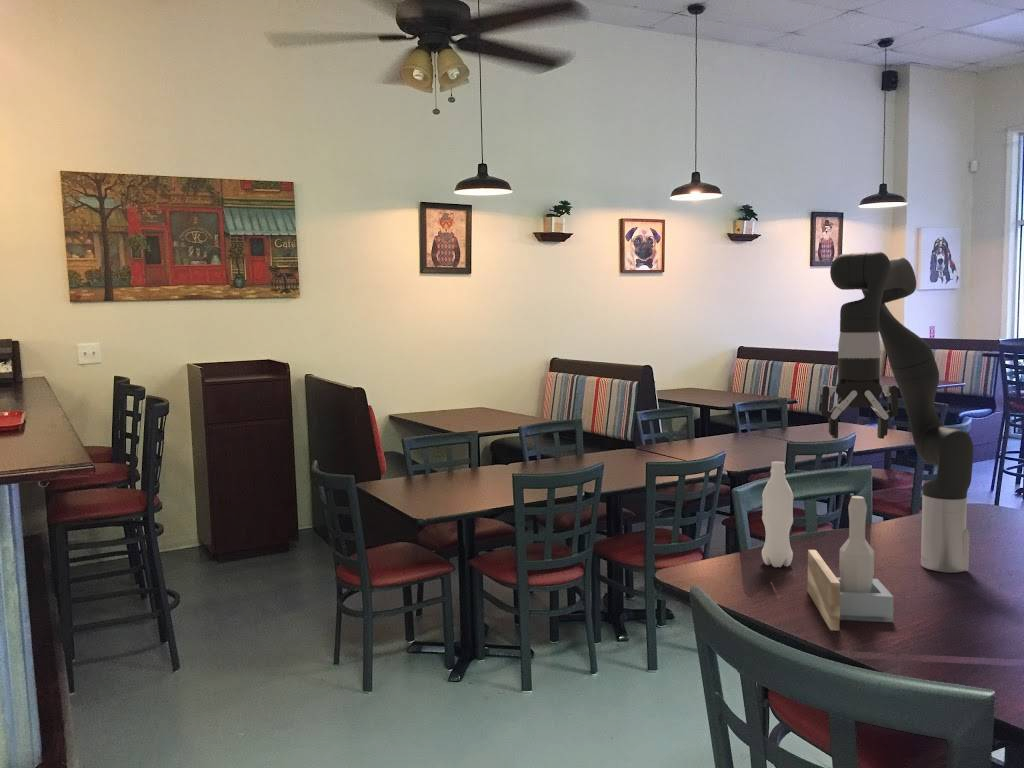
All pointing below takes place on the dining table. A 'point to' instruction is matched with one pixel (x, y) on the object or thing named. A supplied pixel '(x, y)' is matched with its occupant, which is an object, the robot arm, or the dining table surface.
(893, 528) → the dining table surface
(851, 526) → the low poly bottle
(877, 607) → the holder
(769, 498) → the water bottle
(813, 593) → the tan wooden board
